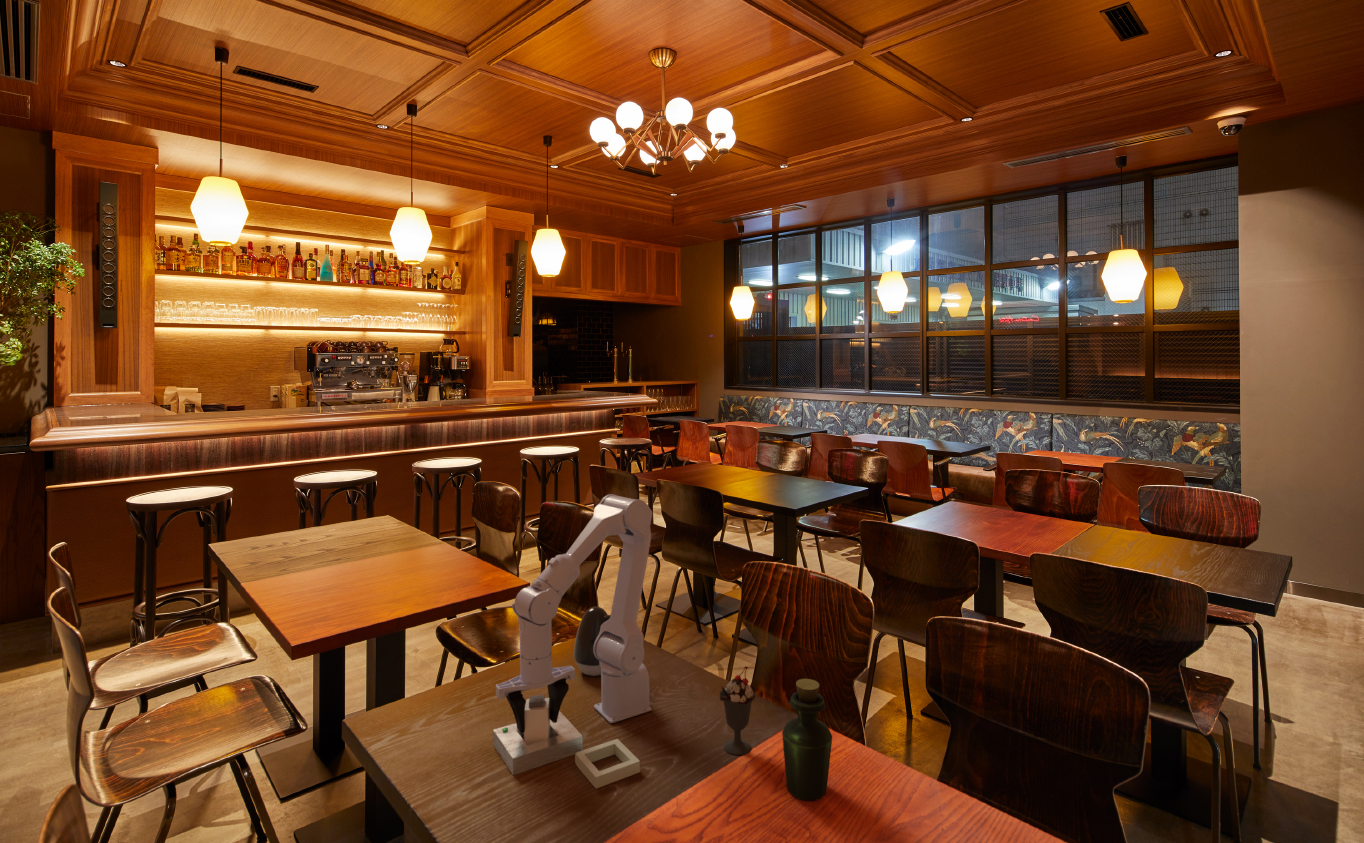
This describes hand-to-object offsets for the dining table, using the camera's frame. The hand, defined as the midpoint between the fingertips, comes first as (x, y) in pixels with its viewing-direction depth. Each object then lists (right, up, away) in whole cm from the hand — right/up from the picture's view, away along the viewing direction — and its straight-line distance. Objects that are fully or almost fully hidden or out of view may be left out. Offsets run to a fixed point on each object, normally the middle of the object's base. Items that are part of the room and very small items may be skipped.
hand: (537, 725), depth 121 cm
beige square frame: (+13, -5, -6) cm, 15 cm away
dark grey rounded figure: (+7, -2, +32) cm, 33 cm away
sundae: (+37, -5, 0) cm, 37 cm away
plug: (0, -3, 0) cm, 3 cm away
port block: (0, -4, 0) cm, 4 cm away
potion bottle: (+47, -5, -12) cm, 49 cm away
